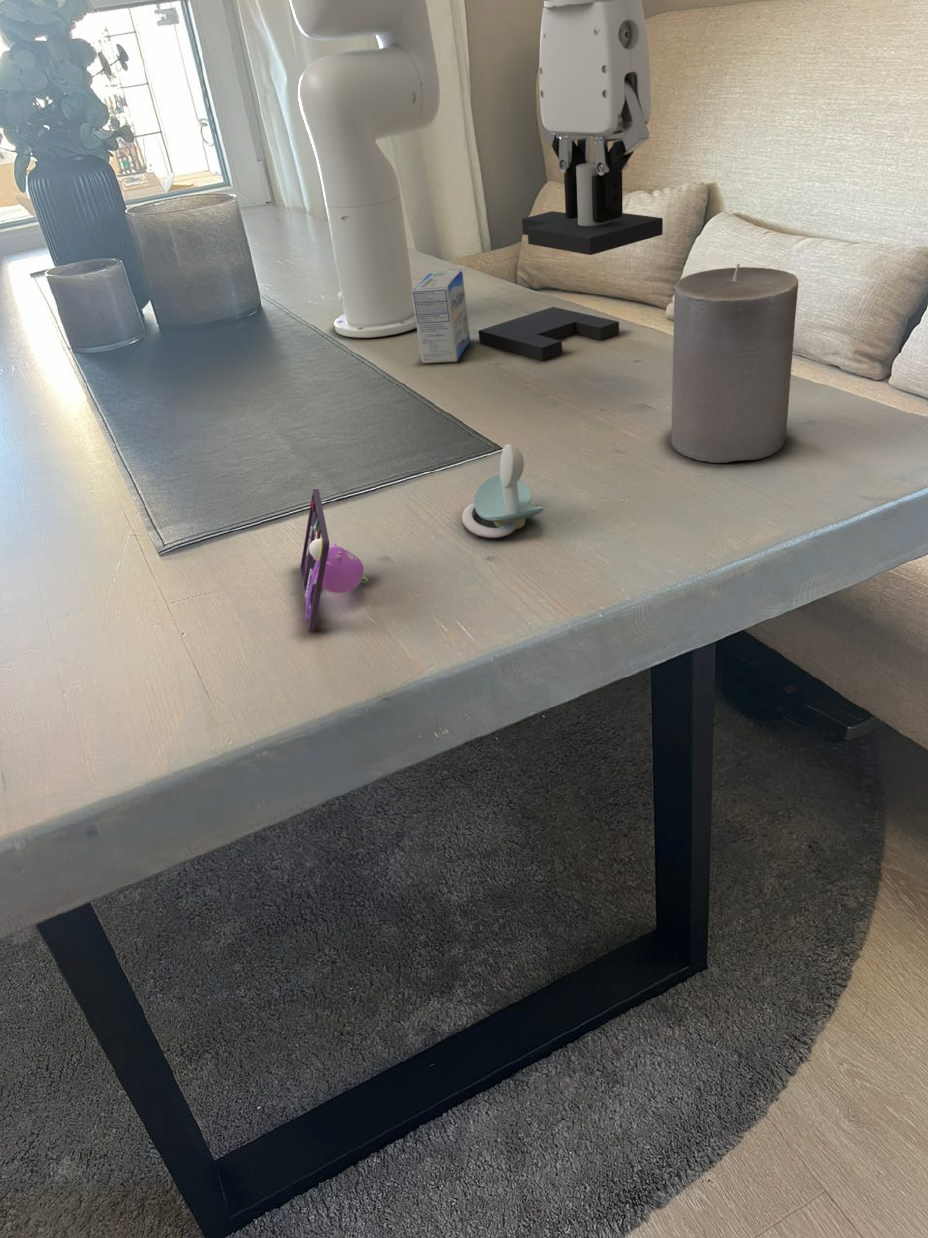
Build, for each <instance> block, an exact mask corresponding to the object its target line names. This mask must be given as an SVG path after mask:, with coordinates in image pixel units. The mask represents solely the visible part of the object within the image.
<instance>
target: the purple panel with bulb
mask: <svg viewBox="0 0 928 1238" xmlns="http://www.w3.org/2000/svg"><path fill="white" fill-rule="evenodd" d="M306 524H307V525H306V530H305V535H304V536H305V537H304V541H303V548H302V549H303V550H302V555H301V562H300V567H299V569H300V570H299V572H300V580H301V587H302V594H303V602H304V608H305V609H304V610H305V616H306V617H305V621H306V624H307V631H312V632H314V631H315V629H316V622H317V618H318V617H317V616H318V611H319V607H320V601H321V595H322V589H324V590H326V591H328V592H331V593H333V594H344V593H348V592H350V591H351V592H352V591H353V590H354V589H355V588H357V586H359V584H361V583H363V584H366V582H368V581H369V579H368V578H367V576H365V575H364V566H363V563H362V561H361V559H360V558H359V557H358V556H356V555H355V554H354V553H352V552H351V551H349V550H347V549H345V548H344V547H342V546H338V544H336V542H333V543H332V544H331V545H330V538H329V533H328V528H327V524H326V519H325V513H324V508H323V504H322V497H321V493H320V489H319V488H313V489H312V493H311V500H310V506H309V513H308V518H307V523H306ZM314 585H315V588H314V594H313V600H311V594H312V591H313V587H314Z"/></svg>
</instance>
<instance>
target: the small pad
mask: <svg viewBox="0 0 928 1238" xmlns="http://www.w3.org/2000/svg"><path fill="white" fill-rule="evenodd" d="M597 174H598V173H597V170H596V161H591V162H590V161H589V163H584V164H580V165H577V166H576V175H577V206H578V218H574V219H568V218H567V217H566V212H561V211H554V210H551V211H546V212H543V213H539V214H536V215H532V216H527V217H523V218H521V227H522V229H521V230H522V235H525V236H527V244H528V245H530V246H538V247H543V248H548V249H554V250H559V251H565V252H571V253H577V254H582V255H587V256H593V255H596V254H597V255H598V254H600V253H603V252H607V251H610V250H614V249H617V248H621V247H624V246H625V247H626V246H628V245H631V244H635V243H638V242H642V241H646V240H650V239H652V238H656V237H660V236H662V235H663V234H664V233H663V231H664V230H663V228H664V226H663V225H664V219H663V218H662V217H657V216H650V215H641V214H635V213H626V212H623V213H622V216H621V217H620V218H616V219H612V220H609V221H605V222H601V223H597V222H594V220H593V214H592V176H593V175H597Z"/></svg>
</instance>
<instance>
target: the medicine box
mask: <svg viewBox="0 0 928 1238" xmlns="http://www.w3.org/2000/svg"><path fill="white" fill-rule="evenodd" d="M464 282H465V281H464V273H463V271H462V270H444V271H436V272H431V273H428V274H427V275H426V276H425V277H424V278H423V279H422V280H421V281H420V282H419V283H418V284H417V285H416V286H415V288H414V289H413V291H412V297H413V305H414V312H415V319H416V325H417V328H416V332H417V338H418V345H419V352H420V358H421V363H423V364H443V363H458V361H459V359H460V358H461V356H462V354H463V352H464V351H465V349H466V348H467V347H468V345H469V343H470V342H471V336H470V328H469V327H470V325H469V318H468V311H467V310H468V309H467V308H468V307H467V300H466V290H465V283H464Z"/></svg>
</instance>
